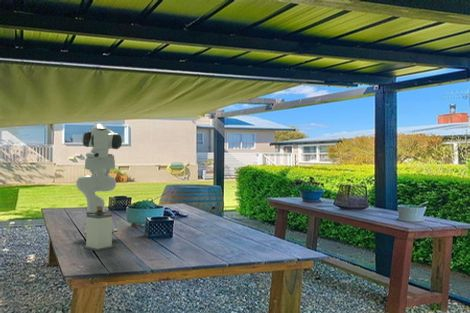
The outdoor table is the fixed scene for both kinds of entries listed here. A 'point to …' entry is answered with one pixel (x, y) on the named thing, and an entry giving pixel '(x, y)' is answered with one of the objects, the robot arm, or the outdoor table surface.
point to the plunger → (99, 210)
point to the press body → (99, 232)
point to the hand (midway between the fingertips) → (100, 176)
